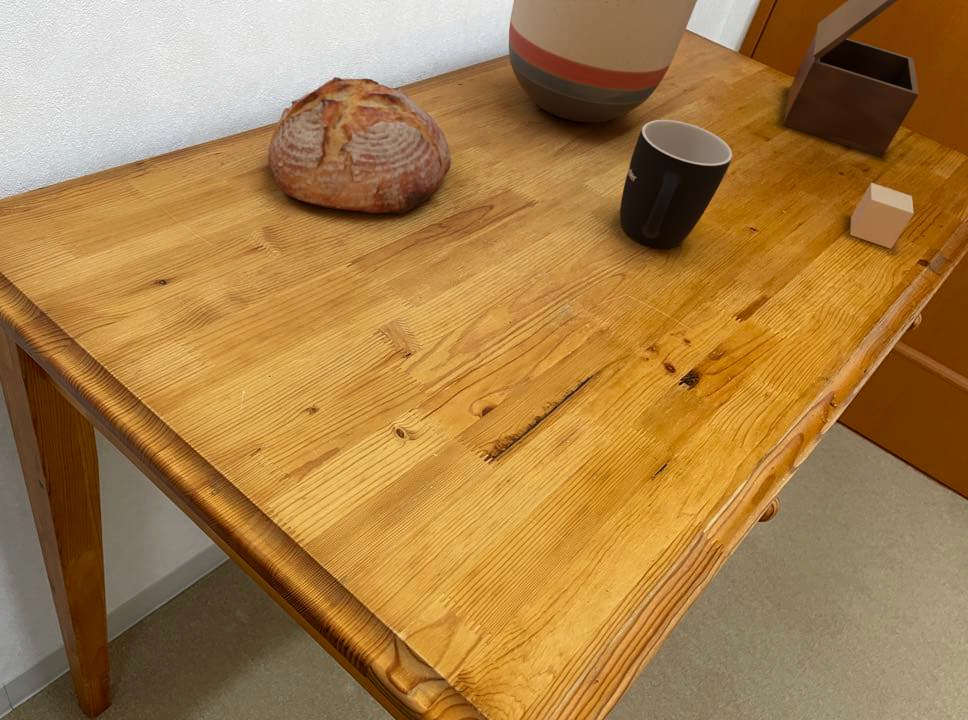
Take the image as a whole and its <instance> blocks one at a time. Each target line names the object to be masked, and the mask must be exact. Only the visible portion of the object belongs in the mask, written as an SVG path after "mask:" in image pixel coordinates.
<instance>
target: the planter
mask: <svg viewBox="0 0 968 720" xmlns="http://www.w3.org/2000/svg"><path fill="white" fill-rule="evenodd" d="M697 1H698V0H513V2H512V8H511V13H510V19H509V28H508V55H509V60H510V66H511V68H512V72H513V74H514V76H515V78H516V80H517V83H518V84H519V86H520V87H521V88H522V90H523V91H524V93H525V94H526V95H527V96H528V97H529V98H530V99H531V101H532V102H534V103H535V104H536V105H537V106H538V107H540V108H541V109H543V110H544V111H546V112H548V113H550V114H551V115H552V114H553V115H554V116H556V117H559V118H562V119H565V120H569V121H573V122H578V123H600V122H601V123H602V122H607V121H611V120H613V119H617V118H620V117H622V116H625V115H626V114H628V113H630V112H632V111H633V110H636V109H637V108H638V107H640V106H641V105H643V104H644V103H645V102H646V101H647V100H648V99H649V98H650V97H651V96H652V94H653V93H654V92H655V91H656V89H657V88H658V87H659V85H660V84H661V82H662V80H663V78H664V77H665V75H666V74H667V72H668V70H669V68H670V66H671V64H672V62H673V60H674V57H675V54H676V53H677V50H678V49H679V46H680V44H681V41H682V39H683V36H684V35H685V32H686V30H687V27H688V25H689V22H690V19H691V17H692V15H693V12H694V9H695V6H696V4H697Z"/></svg>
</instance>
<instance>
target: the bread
mask: <svg viewBox="0 0 968 720" xmlns="http://www.w3.org/2000/svg"><path fill="white" fill-rule="evenodd" d="M446 138H447V137H446V136H445V134H444V132H443V130H442V128H441V127H440V126H439V124H438V123H437V121H436V120H435V119H434V118H433V116H432V115H430V114H429V113H428V112H427V111H426V110H425V109H423V108H422V107H421V106H420V105H419V104H417V102H415V101H413V100H412V99H411V98H410V97H409V95H407V94H406V92H405V91H404V90H402V89H401V88H394V87H393V88H392V87H389V86H386V85H384V84H379V82H377V81H375V80H373V79H372V78H348V77H347V78H341V77H337V76H334V77H333V78H332V79H329V80H328V81H326V82H324V83H323V84H322V85H320V86H319V87H318V88H316V89H314V90H313V91H311V92H307V93H306V94H304V95H302V96H301V97H300V98H297V99H295V100H292V101H291V106H289V107H288V108H287V107H286V108H285V109H283V111H282V113H281V115H280V118H279V120H278V122H277V123H276V125H275V129H274V131H273V132H272V136H271V138H270V142H269V143H270V144H269V147H268V151H267V152H268V155H267V163H268V166H269V168H270V171H271V173H272V175H273V180H274V181H275V183H276V185H277V187H278V188H279V189H280V190H281V191H282V192H283V193H284V194H287V195H288V196H290V197H292V198H294V199H296V200H298V201H301V202H303V203H304V202H305V203H307V204H310V205H314V206H318V207H322V208H329V209H334V210H341V211H342V210H343V211H352V212H363V213H366V214H394V215H396V214H397V215H402V214H406V213H407V212H408V211H410V210H411V209H413V208H415V207H417V206H419V205H421V204H422V203H423V202H424V201H426V200H427V199H429V198H430V197H431V196H432V195H433V194H434V193H435V191H436V190H437V189H438V188H439V186H440V185H441V183H442V182H443V180H444V177H445V176H446V175H447V174H448V172H449V171H450V168H451V164H452V158H451V153H450V148H449V144H448V141H447V139H446Z"/></svg>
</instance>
